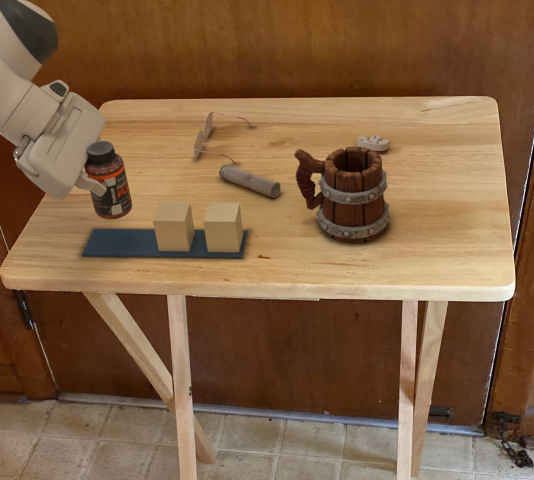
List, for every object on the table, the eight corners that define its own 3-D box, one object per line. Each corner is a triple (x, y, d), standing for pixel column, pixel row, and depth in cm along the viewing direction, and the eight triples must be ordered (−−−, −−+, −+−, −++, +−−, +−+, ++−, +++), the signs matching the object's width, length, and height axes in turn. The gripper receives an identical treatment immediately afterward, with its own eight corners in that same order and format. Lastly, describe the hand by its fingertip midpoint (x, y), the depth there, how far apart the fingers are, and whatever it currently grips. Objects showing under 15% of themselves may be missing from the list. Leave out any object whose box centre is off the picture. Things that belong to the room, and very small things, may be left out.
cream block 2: (207, 252, 129) (203, 221, 124) (213, 233, 132) (208, 202, 128) (239, 252, 128) (235, 221, 124) (243, 233, 132) (239, 202, 127)
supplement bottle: (129, 221, 126) (115, 157, 118) (92, 222, 126) (75, 159, 119) (136, 198, 130) (122, 136, 123) (99, 200, 131) (84, 137, 123)
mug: (390, 248, 126) (374, 165, 117) (302, 252, 131) (280, 172, 121) (400, 205, 134) (387, 124, 125) (317, 210, 139) (298, 133, 130)
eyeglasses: (212, 125, 159) (212, 106, 156) (252, 130, 158) (252, 111, 155) (193, 163, 149) (192, 144, 146) (235, 168, 148) (235, 149, 145)
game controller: (389, 140, 150) (389, 127, 148) (388, 175, 142) (389, 162, 140) (358, 140, 151) (358, 128, 149) (355, 175, 142) (355, 162, 141)
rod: (281, 193, 140) (280, 179, 138) (272, 200, 138) (270, 187, 137) (229, 174, 146) (227, 161, 144) (219, 181, 144) (217, 168, 142)
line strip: (82, 256, 131) (81, 254, 131) (94, 230, 136) (93, 228, 136) (241, 258, 127) (241, 256, 127) (247, 231, 132) (247, 229, 132)
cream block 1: (158, 251, 130) (152, 220, 126) (165, 232, 133) (159, 202, 129) (189, 251, 129) (184, 220, 125) (195, 232, 133) (190, 202, 129)
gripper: (19, 144, 110) (104, 205, 115) (64, 74, 124) (137, 130, 130) (-2, 172, 113) (81, 230, 119) (43, 101, 128) (116, 155, 133)
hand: (111, 177), depth 124 cm, fingers closed on supplement bottle, 6 cm apart
